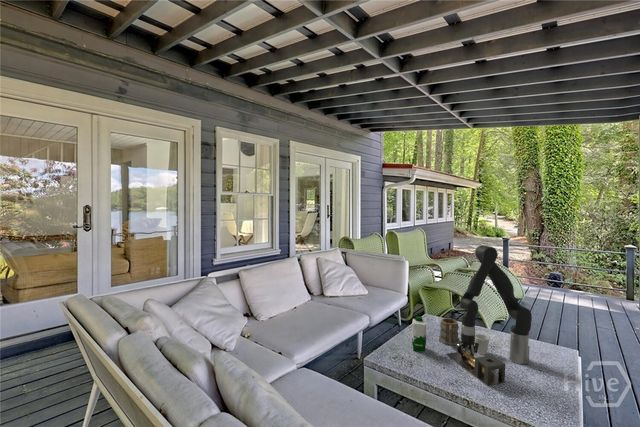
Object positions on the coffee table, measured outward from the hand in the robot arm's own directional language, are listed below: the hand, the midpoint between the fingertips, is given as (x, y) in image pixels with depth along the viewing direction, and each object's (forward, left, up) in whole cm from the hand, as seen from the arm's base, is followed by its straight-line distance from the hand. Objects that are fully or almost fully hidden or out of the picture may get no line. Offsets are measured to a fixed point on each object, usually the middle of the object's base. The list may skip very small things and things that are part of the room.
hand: (467, 360), depth 190 cm
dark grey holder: (0, +5, -2) cm, 5 cm away
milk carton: (+18, -23, -2) cm, 29 cm away
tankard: (-6, -25, -2) cm, 26 cm away
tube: (0, +7, -1) cm, 7 cm away
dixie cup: (-18, -9, -2) cm, 20 cm away
